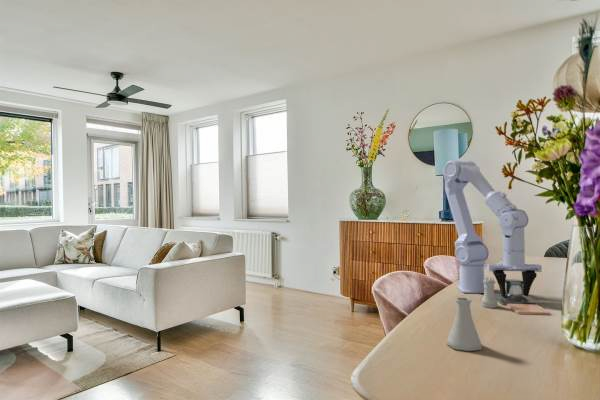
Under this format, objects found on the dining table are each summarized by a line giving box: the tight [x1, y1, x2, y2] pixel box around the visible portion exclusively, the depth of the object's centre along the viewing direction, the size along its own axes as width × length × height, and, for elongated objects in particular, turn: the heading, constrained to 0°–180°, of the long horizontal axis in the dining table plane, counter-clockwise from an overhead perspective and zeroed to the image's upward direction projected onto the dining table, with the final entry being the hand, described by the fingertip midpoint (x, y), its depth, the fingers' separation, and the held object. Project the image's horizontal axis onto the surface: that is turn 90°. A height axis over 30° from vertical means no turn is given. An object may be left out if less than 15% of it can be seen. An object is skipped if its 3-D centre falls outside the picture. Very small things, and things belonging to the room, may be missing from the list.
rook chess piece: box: [480, 277, 499, 309], centre depth 113 cm, size 4×4×8 cm
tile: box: [506, 304, 551, 316], centre depth 108 cm, size 8×8×1 cm
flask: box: [446, 296, 483, 352], centre depth 84 cm, size 7×7×10 cm
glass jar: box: [505, 278, 524, 301], centre depth 118 cm, size 5×5×6 cm
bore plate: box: [494, 293, 541, 306], centre depth 118 cm, size 10×10×1 cm
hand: (514, 295), depth 118 cm, fingers open, 6 cm apart
